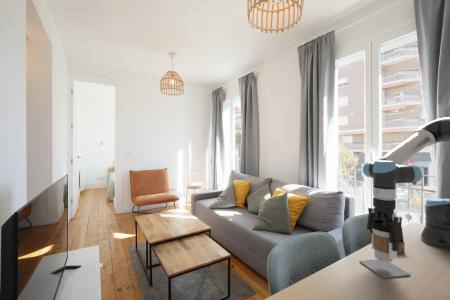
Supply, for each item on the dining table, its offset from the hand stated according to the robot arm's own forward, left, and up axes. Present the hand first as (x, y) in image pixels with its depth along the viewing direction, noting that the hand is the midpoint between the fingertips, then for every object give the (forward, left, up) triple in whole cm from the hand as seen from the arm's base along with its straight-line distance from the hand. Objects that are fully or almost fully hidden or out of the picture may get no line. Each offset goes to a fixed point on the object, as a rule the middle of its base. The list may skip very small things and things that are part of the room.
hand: (383, 253), depth 90 cm
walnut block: (-19, -13, -7) cm, 24 cm away
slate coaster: (0, 0, -7) cm, 7 cm away
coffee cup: (0, 0, -2) cm, 2 cm away
